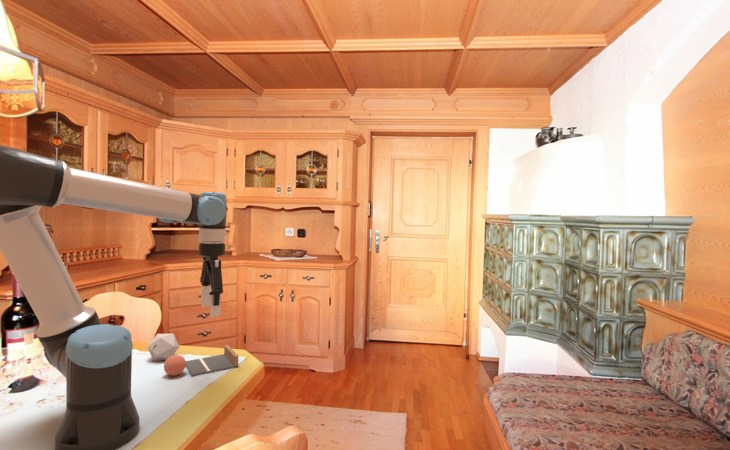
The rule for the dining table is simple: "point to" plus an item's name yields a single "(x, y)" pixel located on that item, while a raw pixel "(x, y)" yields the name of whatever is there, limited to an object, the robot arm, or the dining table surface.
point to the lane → (213, 363)
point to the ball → (174, 365)
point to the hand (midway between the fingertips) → (210, 311)
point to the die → (163, 346)
